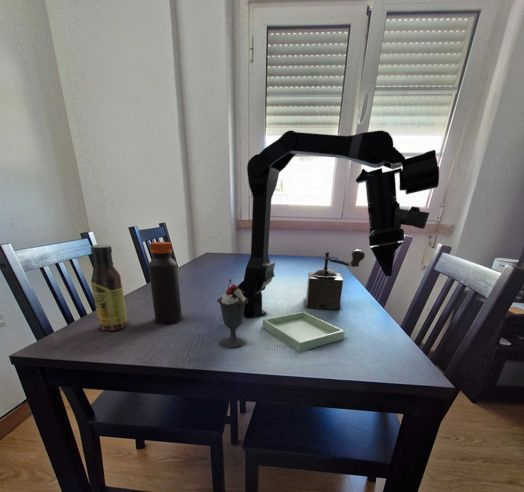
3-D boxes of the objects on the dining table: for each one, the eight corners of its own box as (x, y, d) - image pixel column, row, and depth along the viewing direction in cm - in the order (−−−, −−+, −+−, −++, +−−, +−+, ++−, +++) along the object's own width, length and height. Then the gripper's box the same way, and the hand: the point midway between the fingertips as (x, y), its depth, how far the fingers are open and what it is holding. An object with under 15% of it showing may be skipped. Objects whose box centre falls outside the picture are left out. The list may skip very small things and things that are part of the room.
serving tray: (262, 327, 72) (262, 319, 71) (302, 318, 78) (303, 311, 77) (299, 351, 60) (299, 342, 59) (343, 339, 66) (344, 330, 65)
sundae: (224, 352, 59) (222, 282, 53) (214, 339, 64) (211, 275, 59) (253, 346, 62) (253, 279, 56) (240, 334, 67) (240, 272, 62)
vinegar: (175, 325, 72) (167, 245, 65) (150, 323, 73) (139, 243, 65) (186, 316, 78) (179, 242, 71) (163, 314, 79) (154, 241, 72)
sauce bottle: (96, 327, 70) (79, 245, 63) (121, 320, 74) (108, 243, 67) (106, 335, 66) (89, 248, 58) (132, 327, 70) (120, 245, 63)
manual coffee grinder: (305, 308, 86) (310, 248, 79) (305, 298, 96) (309, 244, 90) (358, 312, 84) (367, 250, 78) (352, 301, 94) (360, 246, 88)
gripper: (433, 186, 49) (436, 275, 53) (418, 193, 65) (421, 260, 69) (365, 202, 53) (373, 282, 57) (367, 205, 69) (372, 267, 74)
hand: (387, 272), depth 64 cm, fingers open, 9 cm apart
